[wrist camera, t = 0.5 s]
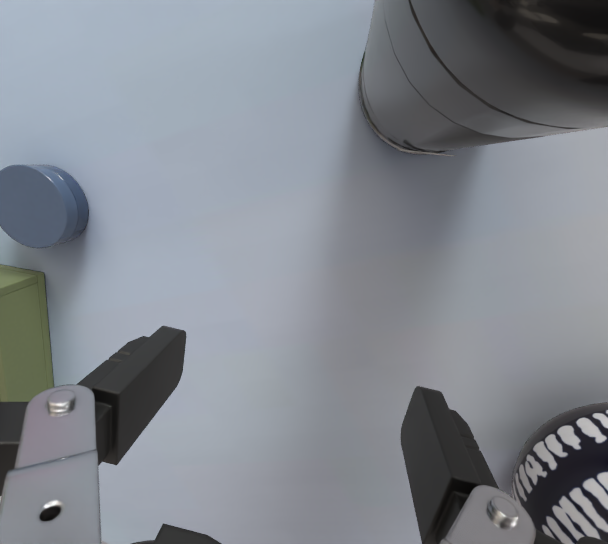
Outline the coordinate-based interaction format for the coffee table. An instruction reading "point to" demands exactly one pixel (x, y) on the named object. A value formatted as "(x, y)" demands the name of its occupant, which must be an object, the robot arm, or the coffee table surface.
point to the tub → (23, 335)
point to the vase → (566, 475)
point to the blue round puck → (41, 205)
